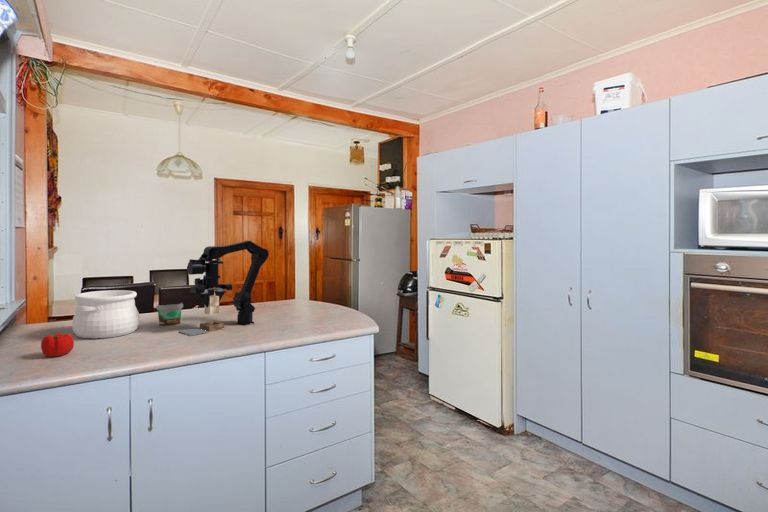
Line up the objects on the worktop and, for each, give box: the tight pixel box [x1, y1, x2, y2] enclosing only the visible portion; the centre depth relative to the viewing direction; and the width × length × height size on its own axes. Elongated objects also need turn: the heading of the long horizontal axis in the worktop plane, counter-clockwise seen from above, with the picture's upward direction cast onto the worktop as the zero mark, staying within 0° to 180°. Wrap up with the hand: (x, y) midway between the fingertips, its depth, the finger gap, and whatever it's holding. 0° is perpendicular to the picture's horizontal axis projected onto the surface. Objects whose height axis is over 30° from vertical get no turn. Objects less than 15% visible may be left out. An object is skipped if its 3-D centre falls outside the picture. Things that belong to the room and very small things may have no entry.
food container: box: [155, 301, 184, 327], centre depth 195 cm, size 12×6×10 cm, turn 143°
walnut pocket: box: [198, 320, 225, 332], centre depth 188 cm, size 8×8×2 cm
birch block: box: [204, 294, 220, 315], centre depth 188 cm, size 4×4×8 cm
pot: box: [71, 289, 141, 340], centre depth 176 cm, size 26×24×18 cm
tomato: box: [40, 332, 75, 358], centre depth 145 cm, size 9×9×8 cm
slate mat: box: [178, 327, 209, 337], centre depth 181 cm, size 8×10×1 cm
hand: (211, 306), depth 188 cm, fingers closed on birch block, 4 cm apart
